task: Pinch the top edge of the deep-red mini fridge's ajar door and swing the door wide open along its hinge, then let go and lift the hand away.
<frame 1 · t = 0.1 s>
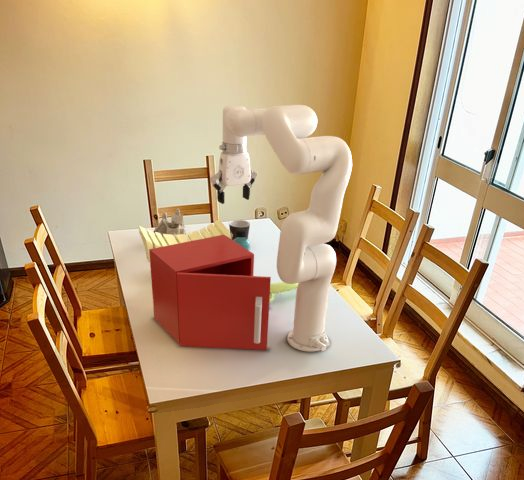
hand: (233, 200, 185), 31 cm above the table, tool pointing down, fingers open, 9 cm apart
fridge door: (222, 317, 157), point 12 cm above the table, hinge at 35.0°
slatted curved stool: (186, 275, 207), on the table
coffee mug: (239, 245, 234), on the table
fridge: (203, 320, 179), on the table
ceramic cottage: (169, 246, 230), on the table
figurine: (284, 300, 194), on the table
beverage bottle: (240, 281, 205), on the table
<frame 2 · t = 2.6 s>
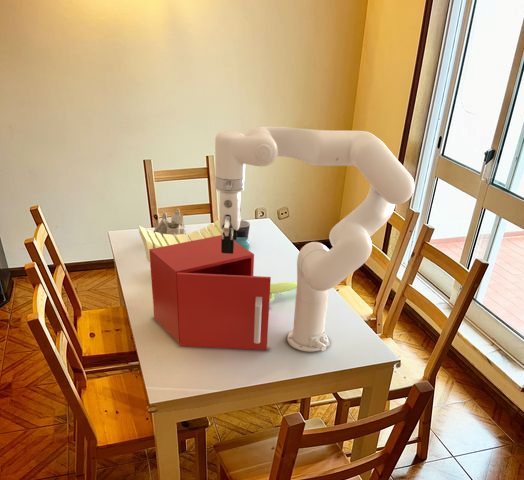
hand: (229, 245, 151), 32 cm above the table, tool pointing down, fingers open, 9 cm apart
nothing on the table moved.
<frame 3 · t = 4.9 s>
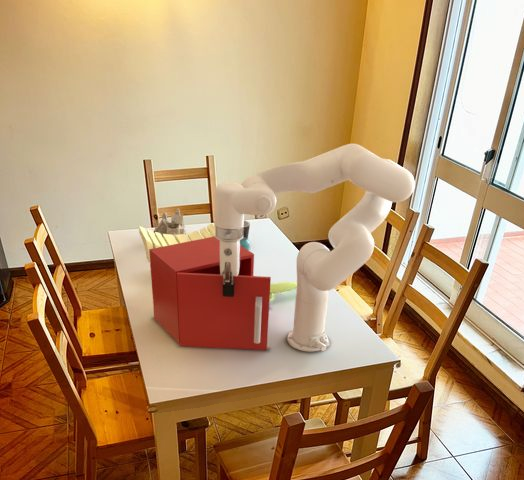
hand: (228, 293, 155), 19 cm above the table, tool pointing down, fingers closed
fridge door: (222, 317, 157), point 12 cm above the table, hinge at 35.0°, touching gripper
everything else where it was.
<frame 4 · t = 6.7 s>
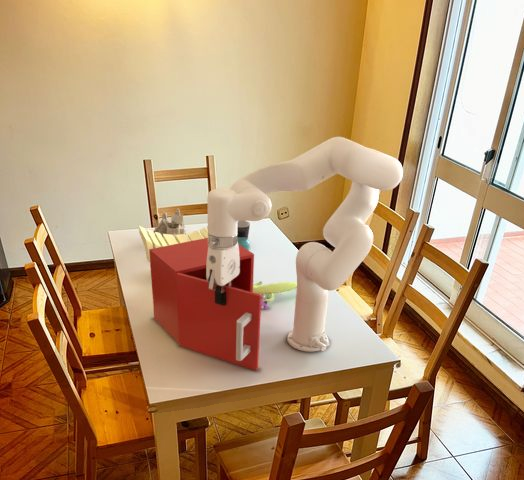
hand: (222, 302, 151), 19 cm above the table, tool pointing down, fingers closed
fridge door: (212, 326, 153), point 12 cm above the table, hinge at 60.3°, touching gripper
everything else where it was.
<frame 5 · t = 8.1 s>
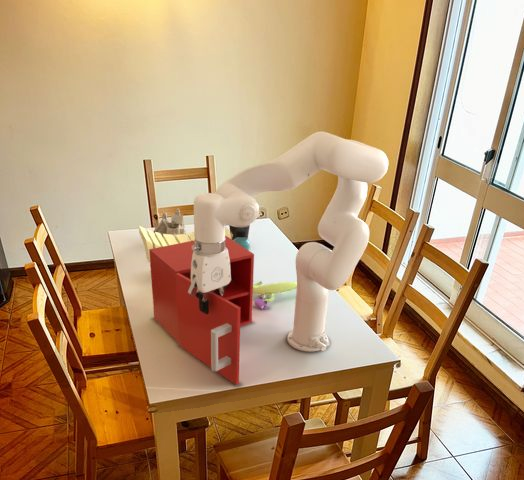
hand: (210, 309, 147), 19 cm above the table, tool pointing down, fingers open, 3 cm apart
fridge door: (198, 331, 150), point 12 cm above the table, hinge at 80.2°
everything else where it was.
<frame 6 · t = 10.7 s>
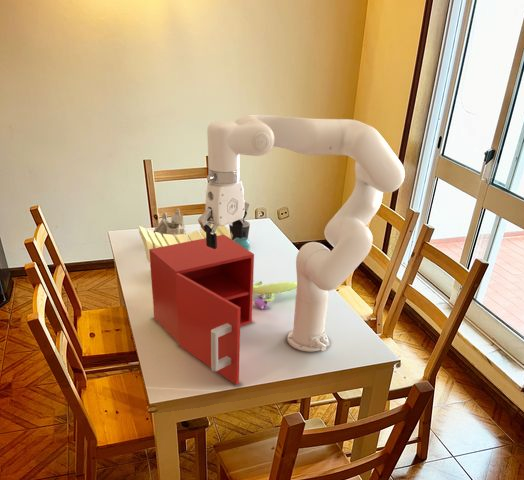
hand: (224, 242, 144), 35 cm above the table, tool pointing down, fingers open, 9 cm apart
nothing on the table moved.
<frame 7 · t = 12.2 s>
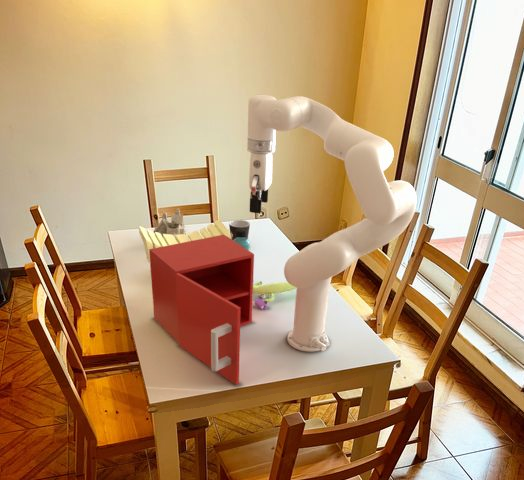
hand: (258, 207, 159), 38 cm above the table, tool pointing down, fingers open, 9 cm apart
nothing on the table moved.
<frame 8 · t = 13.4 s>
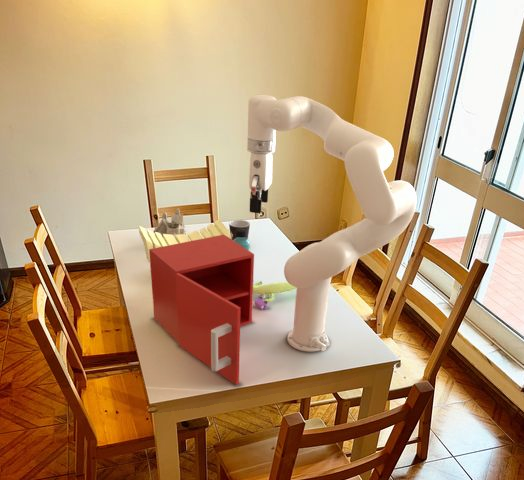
hand: (258, 207, 159), 38 cm above the table, tool pointing down, fingers open, 9 cm apart
nothing on the table moved.
at the end: fridge door at +80° (first picture: +35°); the gripper is holding nothing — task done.
